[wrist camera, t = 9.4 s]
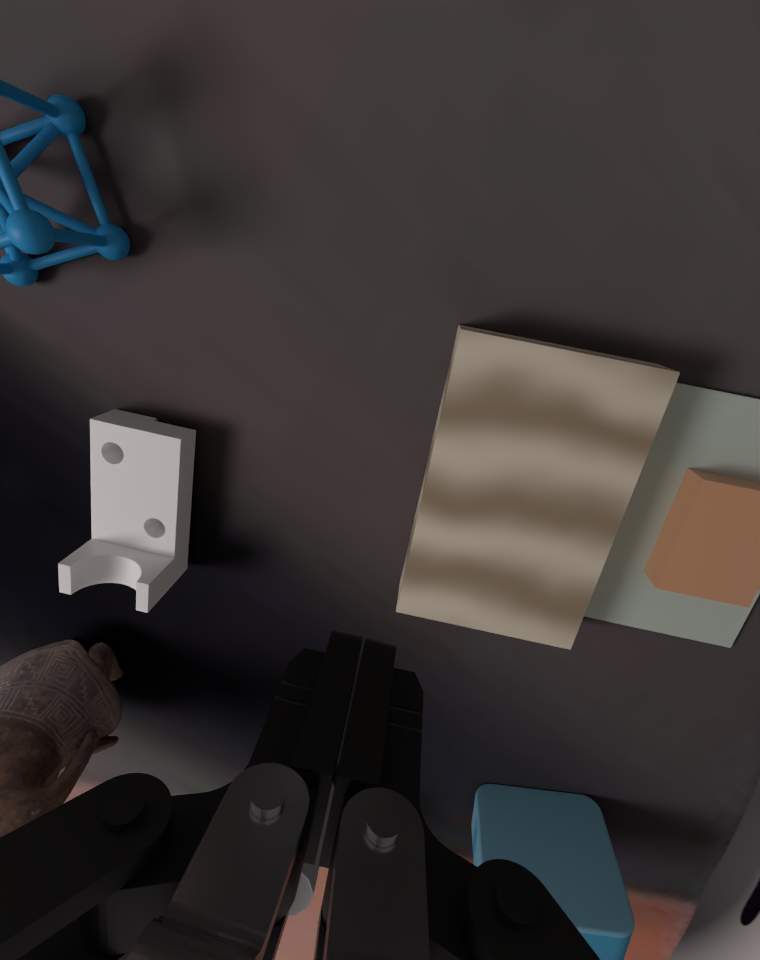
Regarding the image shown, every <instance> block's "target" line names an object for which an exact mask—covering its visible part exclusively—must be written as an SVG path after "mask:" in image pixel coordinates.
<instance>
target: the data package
mask: <svg viewBox="0 0 760 960" xmlns="http://www.w3.org/2000/svg"><path fill="white" fill-rule="evenodd" d="M472 843H473V859H474V865H475V866H477V867H478V866H479V865H481V864H482V863H484V862H486V861H488V860H492V859H505V860H510V861H513V862H516V863H518V864H520V865H522V866H523V867H525V868H526V869H528V870H529V871H530V872H532V873H533V874H534V875H535V876H536V877H537V878H538V879H539V880H540V881H541V882H542V884H543V885H544V886H545V887H546V889H547V890H548V891H549V893H550V894H551V895H552V897H553V898H554V899H555V900H556V902H557V903H558V904H559V906H560V907H561V908H562V910H563V911H564V912H565V914H566V915H567V916H568V918H569V919H570V920H571V922H572V923H573V924H574V925H575V927H576V928H577V929H578V931H579V932H580V933H581V935H582V936H583V937H584V939H585V940H586V941H587V943H588V944H589V945H590V946H591V948H592V949H593V950H594V952H595V953H596V954H597V956H598V957H599V958H600V960H623V959H624V956H625V953H626V950H627V947H628V944H629V941H630V938H631V935H632V932H633V929H634V925H635V921H634V916H633V912H632V909H631V906H630V903H629V899H628V896H627V893H626V890H625V886H624V883H623V880H622V877H621V873H620V870H619V867H618V864H617V860H616V857H615V854H614V851H613V847H612V844H611V841H610V838H609V834H608V831H607V828H606V825H605V821H604V818H603V815H602V812H601V809H600V808H599V806H598V805H597V803H596V802H595V801H593V800H592V799H591V798H589V797H587V796H585V795H582V794H574V793H566V792H557V791H549V790H540V789H532V788H523V787H515V786H506V785H498V784H484V785H482V786H480V787H479V788H478V790H477V792H476V795H475V802H474V810H473V817H472Z"/></svg>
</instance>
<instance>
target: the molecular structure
mask: <svg viewBox="0 0 760 960" xmlns="http://www.w3.org/2000/svg"><path fill="white" fill-rule="evenodd" d="M0 95H1V96H4V97H6V98H8V99H11V100H13V101H15V102H18V103H20V104H22V105H25V106H27V107H29V108H32V109H34V110H36V111H39V112H41V113H43V114H45V116H44V117H41V118H38V119H35V120H32V121H29V122H26V123H24V124H21V125H18V126H15V127H12V128H9V129H7V130H4V131H1V132H0V249H3V248H4V249H5V251H6V253H7V254H6V255H4V256H3V257H2V258H1V261H0V274H3V276H4V277H5V278H6V280H8V281H9V282H10V283H12V284H15V285H17V286H29V285H32V284H33V283H34V282H35V281H36V280H37V278H38V275H39V271H38V270H40V269H43V268H47V267H50V266H53V265H57V264H60V263H64V262H67V261H71V260H74V259H78V258H81V257H84V256H88V255H91V254H95V253H98V252H99V253H100V254H101V255H102V256H103V257H105V258H107V259H110V260H120V259H123V258H124V257H126V255H127V254H128V253H129V250H130V241H129V238H128V236H127V234H126V233H125V232H124V230H122V229H121V228H120V227H118V226H116V225H113V224H111V223H110V220H109V217H108V214H107V212H106V209H105V206H104V204H103V201H102V198H101V195H100V193H99V190H98V187H97V184H96V182H95V179H94V176H93V173H92V171H91V168H90V165H89V162H88V160H87V157H86V154H85V151H84V149H83V146H82V143H81V141H80V138H79V136H80V135H81V134H82V133H83V132H84V130H85V127H86V118H85V115H84V112H83V110H82V108H81V107H80V106H79V104H78V103H77V102H76V101H74V100H73V99H72V98H70V97H68V96H65V95H60V94H58V95H53V96H51V97H50V98H49V99H48V100H47V101H45V100H43V99H41V98H39V97H37V96H34V95H32V94H30V93H28V92H26V91H24V90H21V89H19V88H17V87H15V86H13V85H11V84H9V83H6V82H4V81H2V80H0ZM36 134H37V135H36ZM59 134H60V135H62V136H64V137H67V139H68V141H69V144H70V147H71V149H72V152H73V155H74V158H75V160H76V163H77V166H78V168H79V171H80V174H81V176H82V179H83V182H84V184H85V187H86V190H87V192H88V195H89V198H90V201H91V203H92V206H93V209H94V211H95V214H96V217H97V219H98V222H99V225H100V226H99V227H98V228H97V229H95V228H93V227H91V226H89V225H87V224H85V223H83V222H81V221H79V220H77V219H75V218H73V217H71V216H69V215H67V214H64V213H62V212H60V211H58V210H56V209H54V208H52V207H50V206H48V205H46V204H44V203H42V202H40V201H38V200H35V199H33V198H31V197H29V196H27V195H25V194H23V193H22V190H21V188H20V185H19V183H18V180H17V177H18V176H19V175H20V174H21V173H22V172H23V171H24V170H25V169H26V168H27V167H28V166H29V165H30V164H31V163H32V162H33V161H34V160H35V159H36V158H37V157H38V156H39V155H40V154H41V152H42V151H43V150H44V149H45V148H46V147H47V146H48V145H49V144H50V143H51V142H52V141H53V140H54V139H55V138H56V137H57V136H58V135H59ZM33 135H36V136H35V137H34V138H33V139H32V140H31V141H30V143H29V144H28V145H27V146H26V147H25V148H24V149H23V150H22V151H21V152H20V153H19V154H18V155H17V156H16V157H15V158H14V159H13V160H12V161H11V162H10V161H9V158H8V156H7V153H6V151H5V149H4V145H7V144H10V143H13V142H16V141H19V140H22V139H25V138H28V137H30V136H33ZM46 217H47V218H49V219H51V220H53V221H55V222H57V223H59V224H62V225H64V226H66V227H68V228H70V229H72V230H74V231H69V230H62V229H55V228H53V226H52V224H51V223H50V222H49V220H48V219H47V218H46ZM55 242H63V243H72V244H81V245H80V246H76V247H73V248H70V249H66V250H63V251H59V252H56V253H53V254H49V255H46V256H42V257H39V258H36V259H32V258H30V257H29V256H27V255H26V254H23V253H21V251H20V250H22V251H24V252H26V253H29V254H37V255H39V254H43V253H46V252H48V251H49V250H50V249H51V248H52V247H53V245H54V243H55Z"/></svg>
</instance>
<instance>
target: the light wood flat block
mask: <svg viewBox="0 0 760 960" xmlns="http://www.w3.org/2000/svg"><path fill="white" fill-rule="evenodd" d="M679 375H680V372H678V371H675V370H672V369H670V368H667V367H664V366H662V365H659V364H656V363H651V362H646V361H641V360H636V359H631V358H626V357H621V356H616V355H611V354H606V353H601V352H595V351H590V350H585V349H580V348H575V347H570V346H565V345H560V344H555V343H550V342H545V341H539V340H534V339H529V338H524V337H519V336H514V335H509V334H504V333H499V332H494V331H489V330H483V329H478V328H473V327H468V326H463V325H459V326H458V330H457V335H456V339H455V343H454V348H453V352H452V357H451V361H450V365H449V370H448V374H447V378H446V383H445V387H444V392H443V396H442V400H441V405H440V409H439V414H438V418H437V422H436V427H435V431H434V436H433V440H432V444H431V449H430V453H429V457H428V462H427V466H426V471H425V475H424V479H423V484H422V488H421V493H420V497H419V501H418V506H417V510H416V515H415V519H414V523H413V528H412V532H411V536H410V541H409V545H408V550H407V554H406V558H405V563H404V567H403V572H402V576H401V580H400V585H399V593H398V600H397V608H396V612H399V613H404V614H409V615H413V616H418V617H422V618H427V619H432V620H436V621H441V622H445V623H450V624H455V625H459V626H464V627H468V628H473V629H478V630H482V631H487V632H491V633H496V634H501V635H505V636H510V637H514V638H519V639H524V640H528V641H533V642H537V643H542V644H547V645H551V646H556V647H560V648H565V649H570V650H571V647H572V645H573V642H574V640H575V637H576V635H577V632H578V630H579V627H580V625H581V622H582V620H583V617H584V615H585V612H586V610H587V607H588V604H589V602H590V599H591V597H592V594H593V592H594V589H595V587H596V584H597V582H598V579H599V577H600V574H601V572H602V569H603V567H604V564H605V562H606V559H607V556H608V554H609V551H610V549H611V546H612V544H613V541H614V539H615V536H616V534H617V531H618V529H619V526H620V524H621V521H622V519H623V516H624V514H625V511H626V508H627V506H628V503H629V501H630V498H631V496H632V493H633V491H634V488H635V486H636V483H637V481H638V478H639V476H640V473H641V471H642V468H643V466H644V463H645V460H646V458H647V455H648V453H649V450H650V448H651V445H652V443H653V440H654V438H655V435H656V433H657V430H658V428H659V425H660V423H661V420H662V418H663V415H664V412H665V410H666V407H667V405H668V402H669V400H670V397H671V395H672V392H673V390H674V387H675V385H676V382H677V380H678V377H679Z"/></svg>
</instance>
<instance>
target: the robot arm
mask: <svg viewBox="0 0 760 960" xmlns="http://www.w3.org/2000/svg"><path fill="white" fill-rule="evenodd" d="M362 639H363V637H361V636H356V635H352V634H347V633H342V632H338V631H332V633H331V636H330V639H329V642H328V646H327V649H326V652H325V653H324V652H319V651H315V650H310V649H306V648H304V649H303V650H302V651H301V652H300V653H299V654H298V655H296V656H295V657H294V658H293V659H292V660H291V661H290V662H289V664H288V666H287V669H286V671H285V674H284V676H283V679H282V682H281V684H280V686H279V689H278V691H277V694H276V697H275V700H274V702H273V704H272V707H271V709H270V712H269V714H268V717H267V719H266V722H265V724H264V727H263V729H262V732H261V734H260V737H259V739H258V742H257V744H256V747H255V749H254V752H253V754H252V757H251V759H250V761H249V763H248V765H247V767H246V768H245V769H244V771H242V772H241V773H240V774H239V775H238V776H236V778H235V779H234V780H233V781H232V782H230V783H229V784H227V785H225V786H223V787H221V788H219V789H216V790H213V791H210V792H204V793H196V794H186V795H176V796H171V794H170V792H169V790H168V788H167V786H166V785H165V784H164V783H163V782H162V781H161V780H160V779H158V778H156V777H154V776H152V775H148V774H143V773H129V774H124V775H120V776H117V777H114V778H112V779H110V780H107V781H105V782H103V783H102V784H100V785H98V786H96V787H94V788H92V789H90V790H88V791H87V792H85V793H83V794H81V795H79V796H77V797H75V798H73V799H72V800H70V801H68V802H66V803H64V804H62V805H60V806H58V807H57V808H55V809H53V810H51V811H49V812H47V813H45V814H43V815H42V816H40V817H38V818H36V819H34V820H32V821H30V822H29V823H27V824H25V825H23V826H21V827H19V828H17V829H15V830H14V831H12V832H10V833H8V834H6V835H4V836H2V837H0V960H275V957H276V953H277V950H278V947H279V944H280V940H281V937H282V934H283V931H284V927H285V924H286V921H287V918H288V914H289V910H290V908H291V906H292V904H293V902H294V900H295V897H296V893H297V889H298V885H299V881H300V876H301V872H302V868H303V864H304V863H307V864H312V865H315V861H316V856H317V851H318V847H319V842H320V837H321V833H322V828H323V824H324V819H325V814H326V810H327V805H328V800H329V796H330V791H331V786H332V782H333V777H334V772H335V768H336V763H337V758H338V754H339V749H340V744H341V740H342V735H343V730H344V726H345V721H346V716H347V712H348V707H349V702H350V697H351V693H352V688H353V683H354V678H355V673H356V668H357V664H358V659H359V654H360V649H361V644H362ZM395 652H396V644H393V643H389V642H384V641H379V640H375V639H370V638H366V639H365V643H364V648H363V653H362V658H361V663H360V667H359V672H358V677H357V682H356V687H355V691H354V696H353V701H352V706H351V711H350V715H349V720H348V725H347V730H346V735H345V739H344V744H343V749H342V754H341V759H340V763H339V768H338V773H337V778H336V783H335V788H334V792H333V797H332V802H331V807H330V812H329V816H328V821H327V826H326V831H325V836H324V840H323V845H322V850H321V855H320V860H319V864H318V866H321V867H326V868H329V870H328V876H327V881H326V886H325V892H324V897H323V902H322V906H321V911H320V916H319V921H318V928H317V936H316V944H315V952H314V960H600V958H599V957H598V956H597V954H596V953H595V952H594V950H593V949H592V948H591V946H590V945H589V944H588V943H587V941H586V940H585V939H584V937H583V936H582V935H581V933H580V932H579V931H578V929H577V928H576V927H575V925H574V924H573V923H572V922H571V920H570V919H569V918H568V916H567V915H566V914H565V912H564V911H563V910H562V908H561V907H560V906H559V904H558V903H557V902H556V900H555V899H554V898H553V897H552V895H551V894H550V893H549V891H548V890H547V889H546V887H545V886H544V885H543V884H542V882H541V881H540V880H539V879H538V878H537V877H536V876H535V875H534V874H533V873H532V872H530V871H529V870H528V869H526V868H525V867H523V866H522V865H520V864H518V863H516V862H513V861H510V860H505V859H492V860H488V861H486V862H484V863H482V864H481V865H479V866H478V867H477V866H475V865H474V864H472V863H470V862H469V861H467V860H465V859H464V858H462V857H460V856H459V855H457V854H455V853H454V852H452V851H451V850H449V849H448V848H446V847H445V846H444V845H443V844H442V843H441V842H439V841H438V840H437V838H436V837H435V836H434V835H433V834H432V832H431V831H430V830H429V828H428V827H427V825H426V823H425V821H424V818H423V816H422V813H421V809H420V802H419V791H420V765H421V740H422V733H421V731H422V712H423V690H422V688H421V685H420V683H419V681H418V678H417V676H416V674H415V672H410V671H406V670H401V669H397V668H394V661H395Z"/></svg>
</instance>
